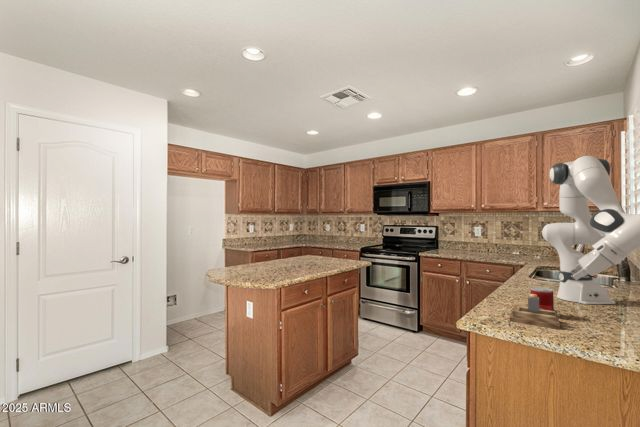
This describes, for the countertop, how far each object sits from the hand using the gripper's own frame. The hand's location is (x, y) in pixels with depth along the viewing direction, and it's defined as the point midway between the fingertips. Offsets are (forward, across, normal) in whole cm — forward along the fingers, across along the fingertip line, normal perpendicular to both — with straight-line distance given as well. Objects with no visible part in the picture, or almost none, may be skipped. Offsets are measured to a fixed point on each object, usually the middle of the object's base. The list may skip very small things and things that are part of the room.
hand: (572, 275), depth 115 cm
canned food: (+21, -12, +8) cm, 25 cm away
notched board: (+23, +1, +5) cm, 23 cm away
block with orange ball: (+22, +1, +4) cm, 22 cm away
